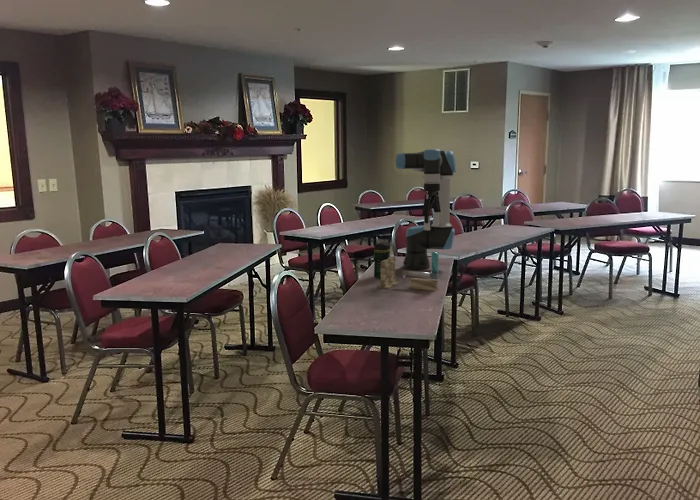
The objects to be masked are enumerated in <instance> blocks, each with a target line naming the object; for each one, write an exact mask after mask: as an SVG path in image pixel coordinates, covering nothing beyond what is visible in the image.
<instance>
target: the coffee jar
mask: <svg viewBox="0 0 700 500" xmlns="http://www.w3.org/2000/svg"><path fill="white" fill-rule="evenodd" d="M373 251H374V252H373V253H374V256H373V257H374V265H373V267H374V268H373V277H374V278H376V279H381V261H384V260H386V259H388V258H390V257H391V243H390V242H389V241H380V242H378V243H375V244H374V246H373Z"/></svg>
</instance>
